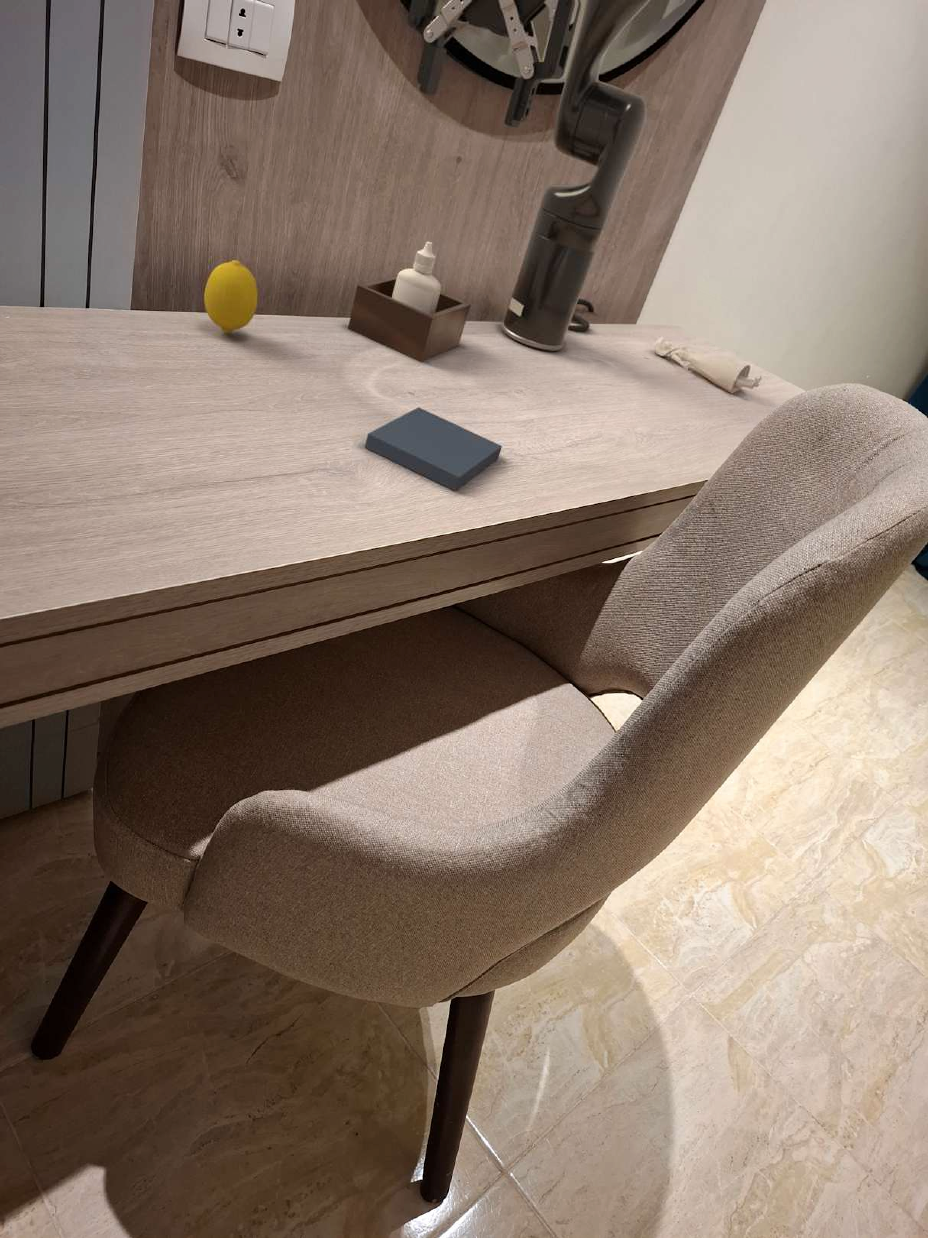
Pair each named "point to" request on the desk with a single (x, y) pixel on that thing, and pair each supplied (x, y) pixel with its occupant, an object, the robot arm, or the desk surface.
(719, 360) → the woman figurine
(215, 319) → the lemon
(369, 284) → the box
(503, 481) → the desk surface
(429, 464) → the block
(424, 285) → the eye dropper bottle
